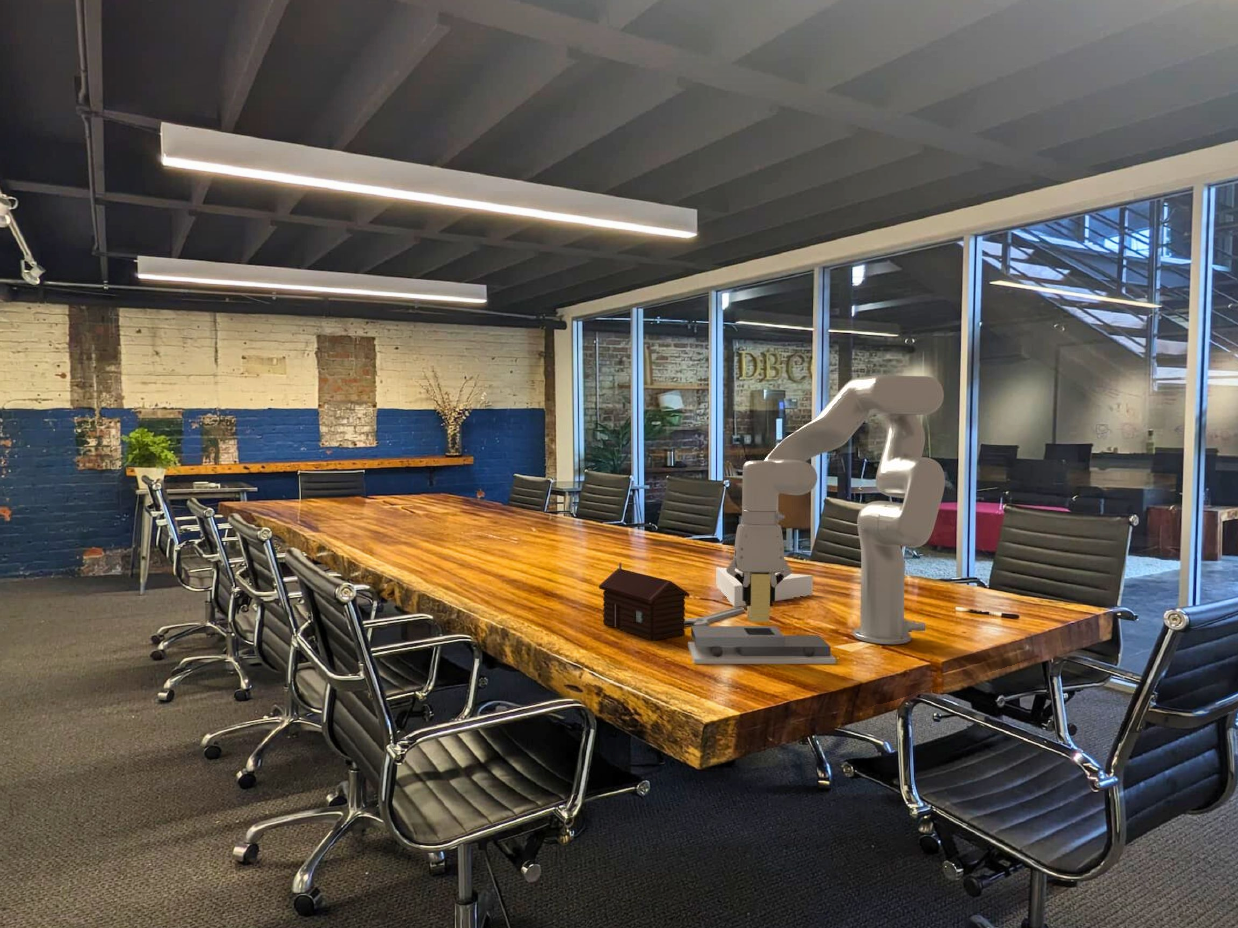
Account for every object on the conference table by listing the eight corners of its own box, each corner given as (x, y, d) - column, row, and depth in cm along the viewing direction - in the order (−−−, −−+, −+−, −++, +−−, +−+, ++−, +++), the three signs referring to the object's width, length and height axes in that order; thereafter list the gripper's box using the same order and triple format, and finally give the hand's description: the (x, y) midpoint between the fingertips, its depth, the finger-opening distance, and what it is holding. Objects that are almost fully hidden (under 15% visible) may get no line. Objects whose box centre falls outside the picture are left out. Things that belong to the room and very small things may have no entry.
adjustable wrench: (737, 612, 205) (737, 605, 205) (757, 616, 200) (757, 609, 200) (674, 627, 187) (674, 620, 187) (694, 632, 183) (694, 625, 183)
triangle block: (734, 609, 208) (734, 586, 208) (677, 592, 230) (677, 571, 230) (812, 596, 224) (812, 575, 224) (752, 582, 246) (752, 563, 246)
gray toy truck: (818, 643, 168) (818, 625, 168) (831, 656, 158) (831, 637, 158) (690, 643, 168) (690, 625, 168) (695, 656, 158) (695, 637, 158)
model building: (599, 624, 189) (599, 564, 189) (636, 617, 196) (636, 559, 196) (650, 642, 173) (650, 576, 172) (689, 635, 179) (689, 571, 179)
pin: (765, 617, 165) (766, 571, 164) (769, 621, 161) (770, 574, 160) (747, 617, 165) (747, 570, 164) (750, 621, 161) (751, 574, 160)
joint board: (818, 646, 170) (818, 641, 170) (835, 663, 157) (835, 658, 157) (687, 646, 169) (687, 641, 169) (694, 663, 156) (694, 658, 156)
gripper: (795, 517, 166) (793, 601, 166) (718, 516, 166) (716, 600, 166) (803, 521, 158) (802, 609, 159) (723, 520, 158) (721, 608, 159)
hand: (758, 603), depth 162 cm, fingers closed on pin, 4 cm apart
